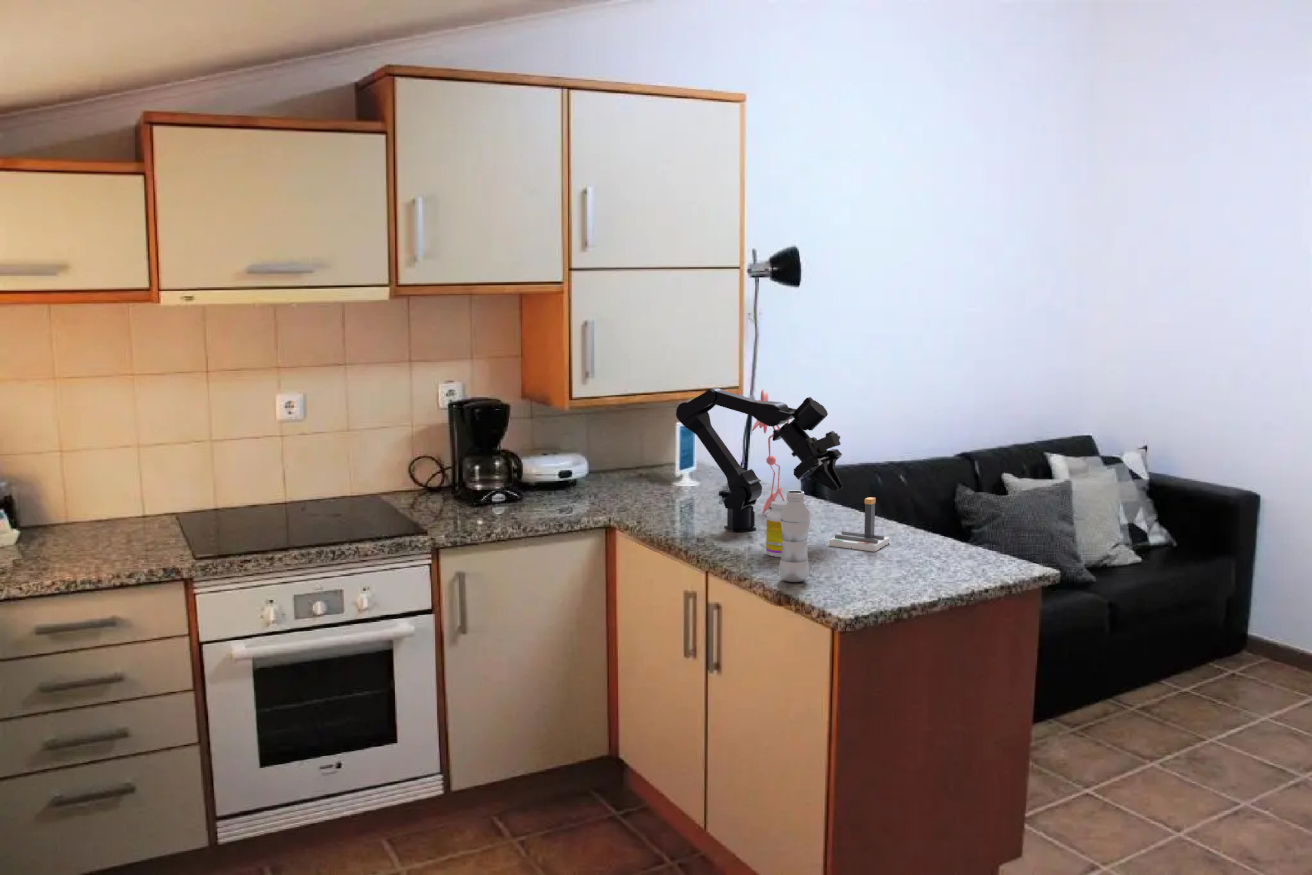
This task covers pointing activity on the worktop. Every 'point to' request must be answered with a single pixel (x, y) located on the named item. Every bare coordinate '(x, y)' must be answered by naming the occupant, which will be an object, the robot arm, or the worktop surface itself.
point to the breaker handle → (869, 517)
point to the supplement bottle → (774, 529)
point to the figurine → (769, 458)
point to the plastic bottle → (794, 538)
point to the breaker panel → (858, 541)
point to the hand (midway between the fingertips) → (839, 489)
